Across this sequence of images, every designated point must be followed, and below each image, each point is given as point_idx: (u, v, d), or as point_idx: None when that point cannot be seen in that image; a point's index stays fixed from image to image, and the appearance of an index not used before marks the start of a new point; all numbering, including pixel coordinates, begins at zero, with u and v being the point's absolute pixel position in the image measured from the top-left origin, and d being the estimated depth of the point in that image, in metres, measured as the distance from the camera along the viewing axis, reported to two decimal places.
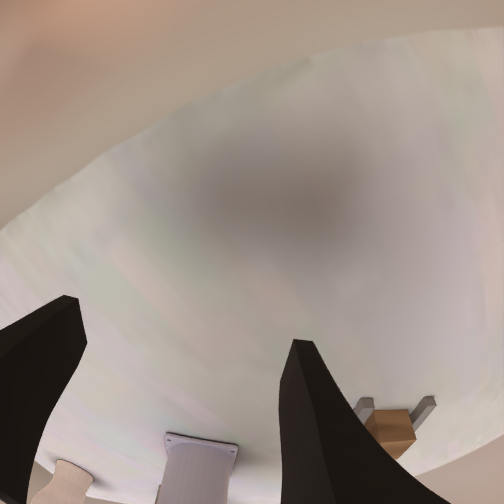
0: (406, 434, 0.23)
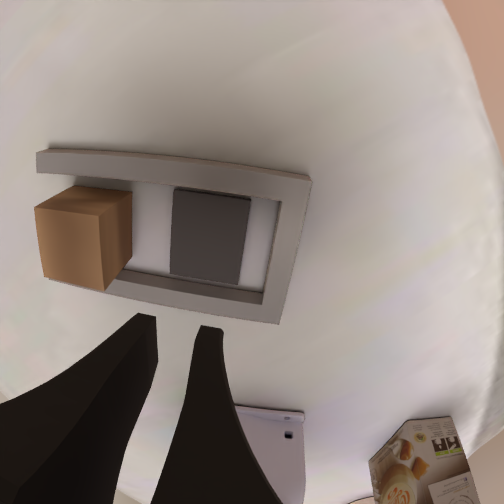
0: None
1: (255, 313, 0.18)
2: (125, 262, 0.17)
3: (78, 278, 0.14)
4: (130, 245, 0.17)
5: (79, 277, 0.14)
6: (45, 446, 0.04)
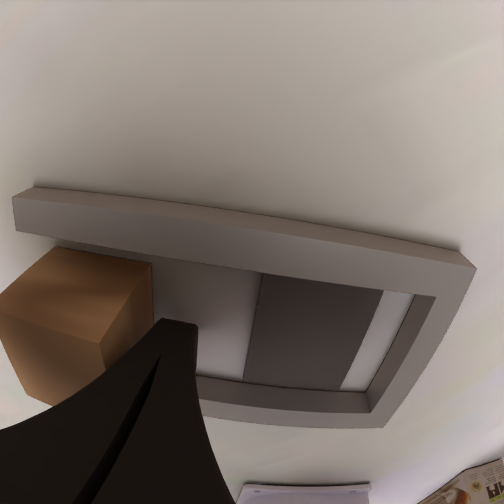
0: None
1: (359, 421, 0.12)
2: None
3: None
4: None
5: None
6: (85, 463, 0.04)
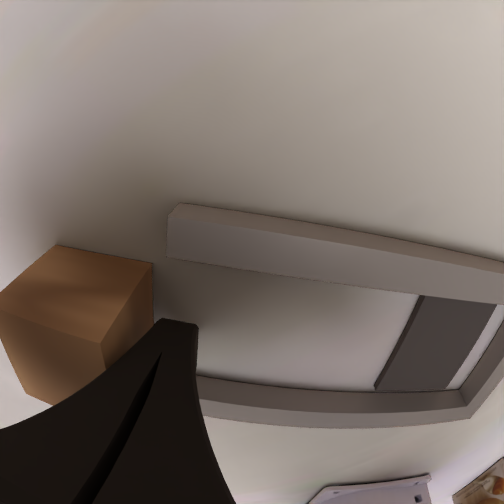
0: None
1: (456, 414, 0.12)
2: None
3: None
4: None
5: None
6: (84, 463, 0.04)
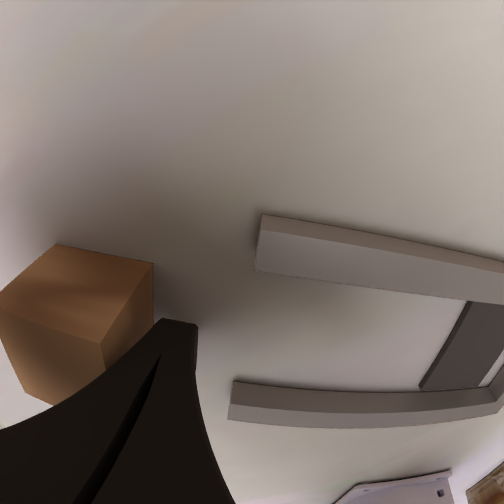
0: None
1: (486, 410, 0.12)
2: None
3: None
4: None
5: None
6: (85, 463, 0.04)
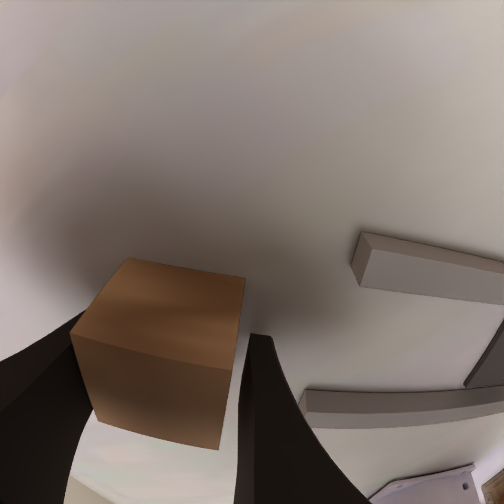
0: None
1: None
2: None
3: (169, 434, 0.08)
4: None
5: (171, 434, 0.08)
6: None
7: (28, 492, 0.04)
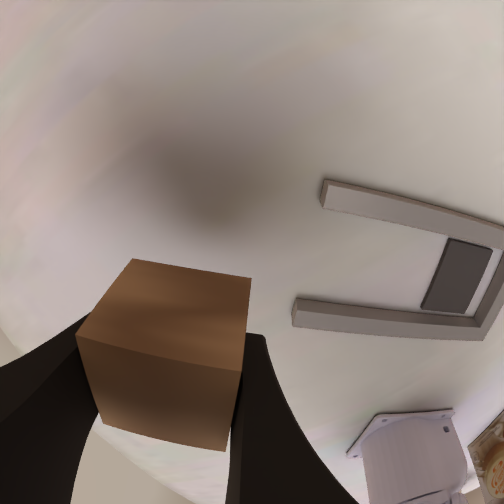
0: None
1: (473, 334, 0.18)
2: None
3: (176, 436, 0.08)
4: None
5: (178, 436, 0.08)
6: None
7: (35, 496, 0.04)
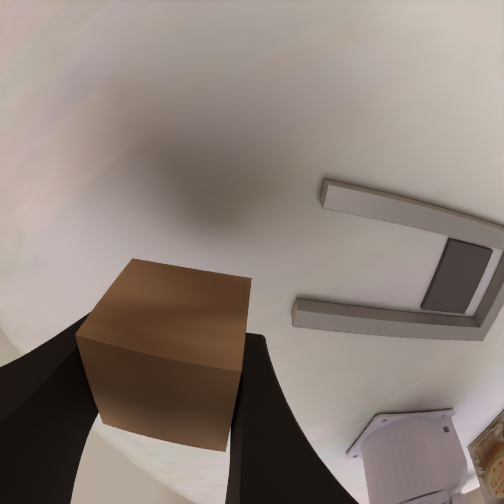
0: None
1: (473, 334, 0.18)
2: None
3: (176, 436, 0.08)
4: None
5: (178, 436, 0.08)
6: None
7: (35, 496, 0.04)
